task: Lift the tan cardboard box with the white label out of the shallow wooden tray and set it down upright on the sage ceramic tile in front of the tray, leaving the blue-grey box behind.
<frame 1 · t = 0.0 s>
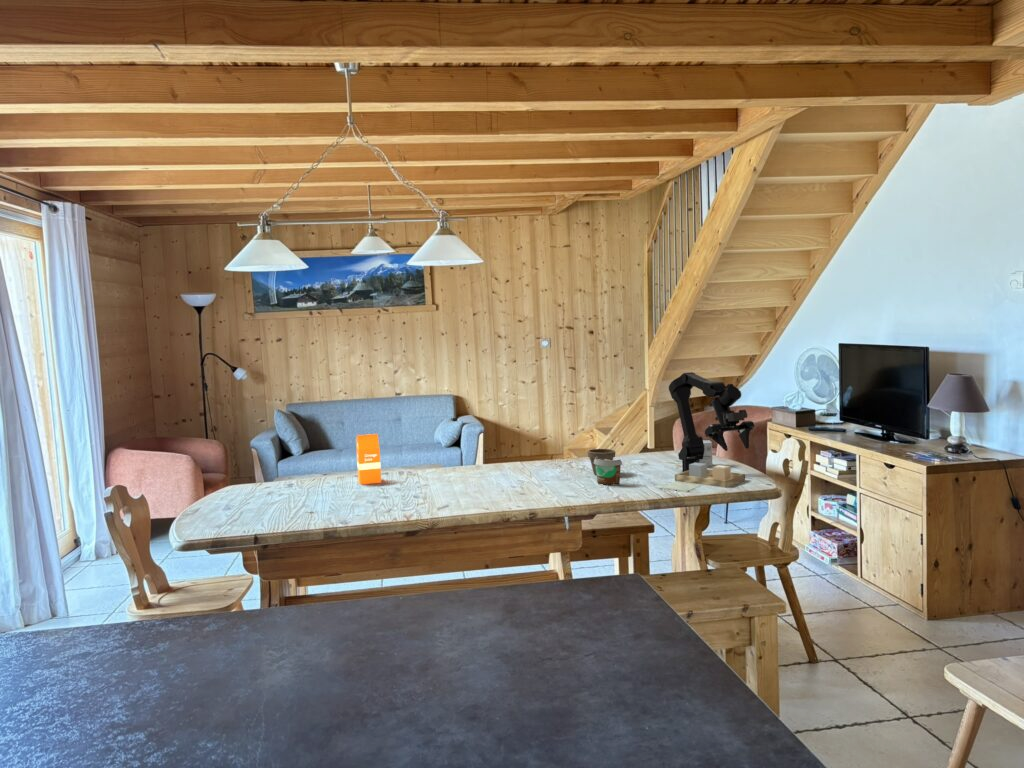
hand: (737, 449, 281), 15 cm above the table, tool tilted 35°, fingers open, 9 cm apart
food container: (605, 484, 299), on the table
orange juice: (369, 482, 320), on the table
sage tile: (681, 487, 288), on the table
tan box: (721, 482, 293), resting on wooden tray
light bulb box: (699, 466, 329), on the table
flower pot: (602, 474, 318), on the table
wooden tray: (709, 481, 296), on the table
blue-grey box: (698, 479, 299), resting on wooden tray
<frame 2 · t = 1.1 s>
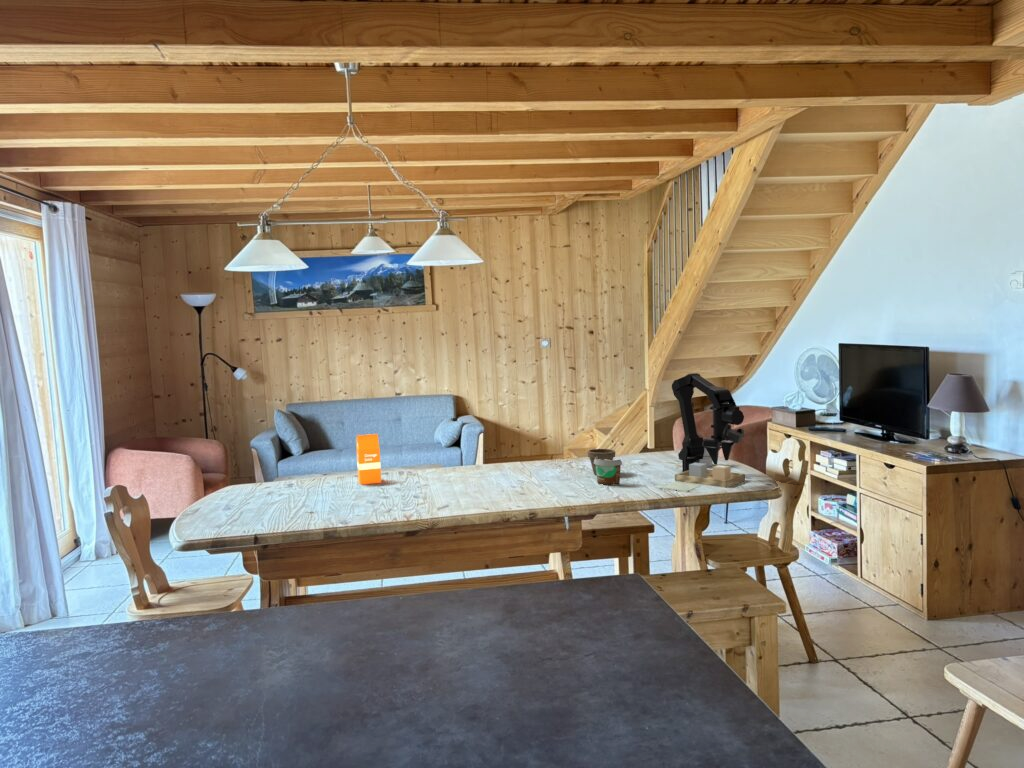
hand: (721, 462, 292), 8 cm above the table, tool pointing down, fingers open, 9 cm apart
nothing on the table moved.
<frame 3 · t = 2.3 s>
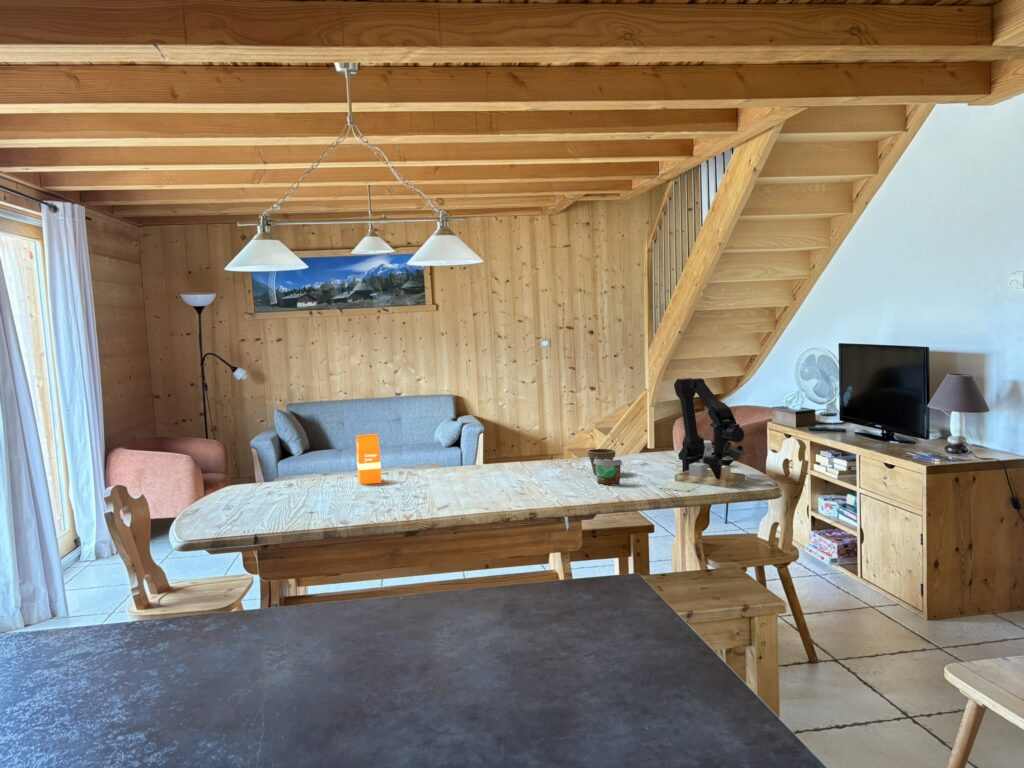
hand: (721, 479, 293), 2 cm above the table, tool pointing down, fingers closed on tan box, 5 cm apart
tan box: (721, 482, 293), resting on wooden tray, touching gripper
everything else where it was.
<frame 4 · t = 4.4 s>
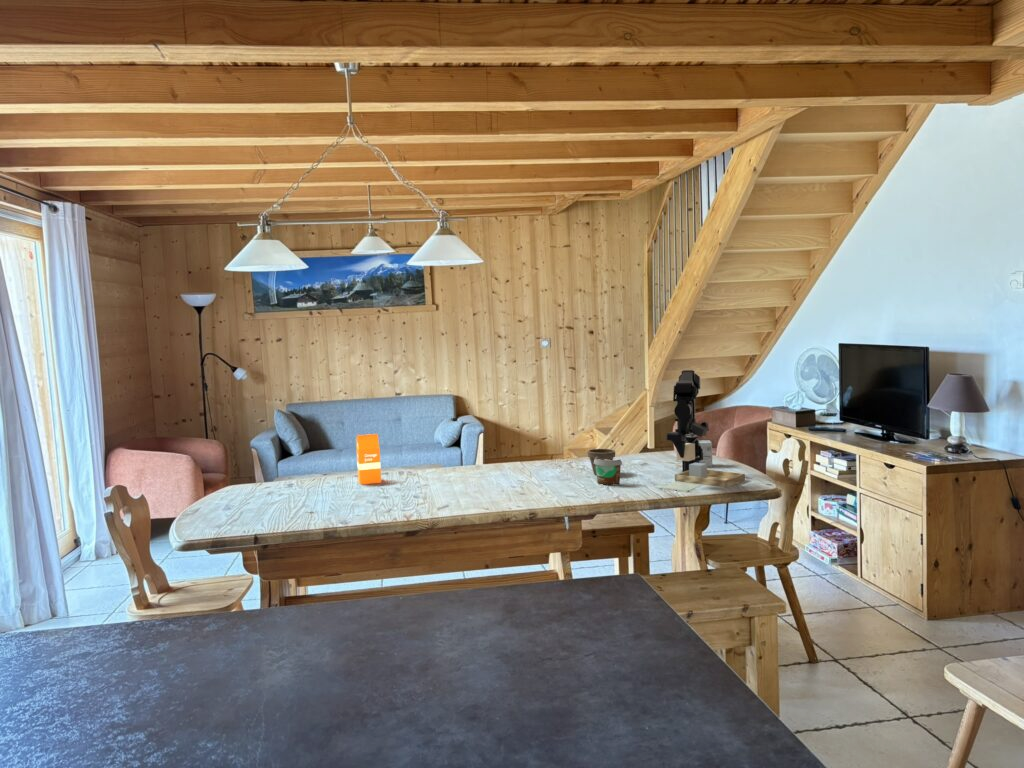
hand: (685, 456, 287), 12 cm above the table, tool pointing down, fingers closed on tan box, 5 cm apart
tan box: (685, 459, 287), point 11 cm above the table, touching gripper
everything else where it was.
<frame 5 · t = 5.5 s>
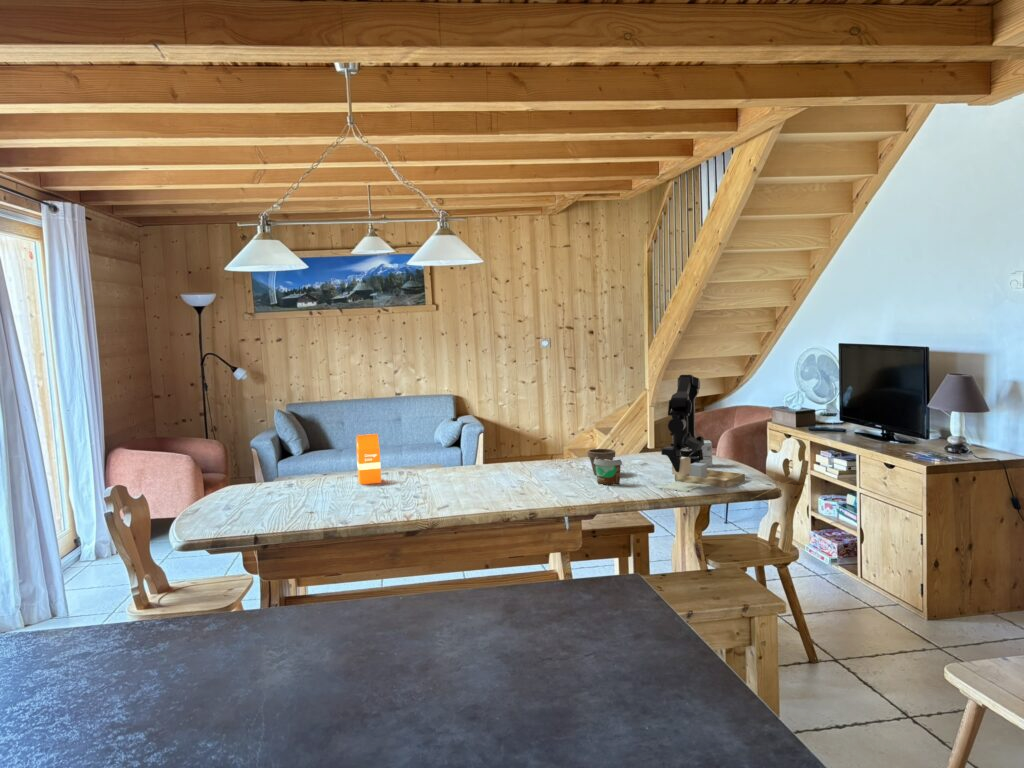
hand: (681, 470, 287), 7 cm above the table, tool pointing down, fingers closed on tan box, 5 cm apart
tan box: (681, 473, 287), point 5 cm above the table, touching gripper
everything else where it was.
when the fingers open (3 cm above the table, at t = 6.5 s): tan box drops 1 cm, resting on sage tile.
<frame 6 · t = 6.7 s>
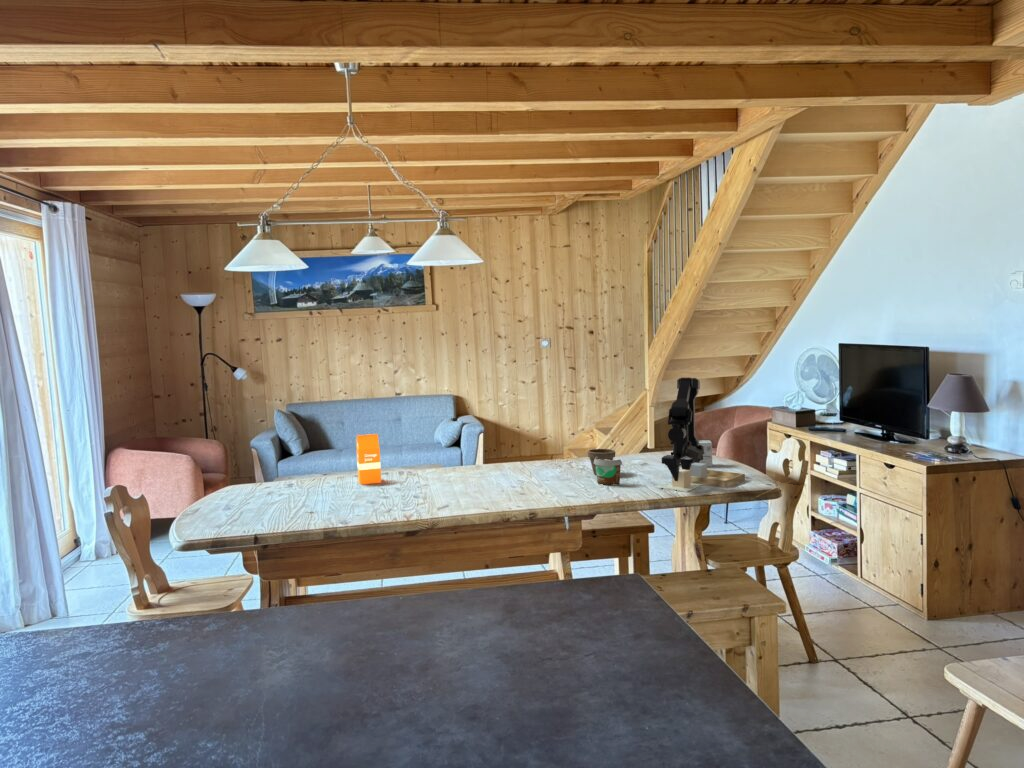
hand: (681, 479, 287), 3 cm above the table, tool pointing down, fingers open, 7 cm apart
tan box: (681, 486, 287), point 1 cm above the table, touching sage tile
everything else where it was.
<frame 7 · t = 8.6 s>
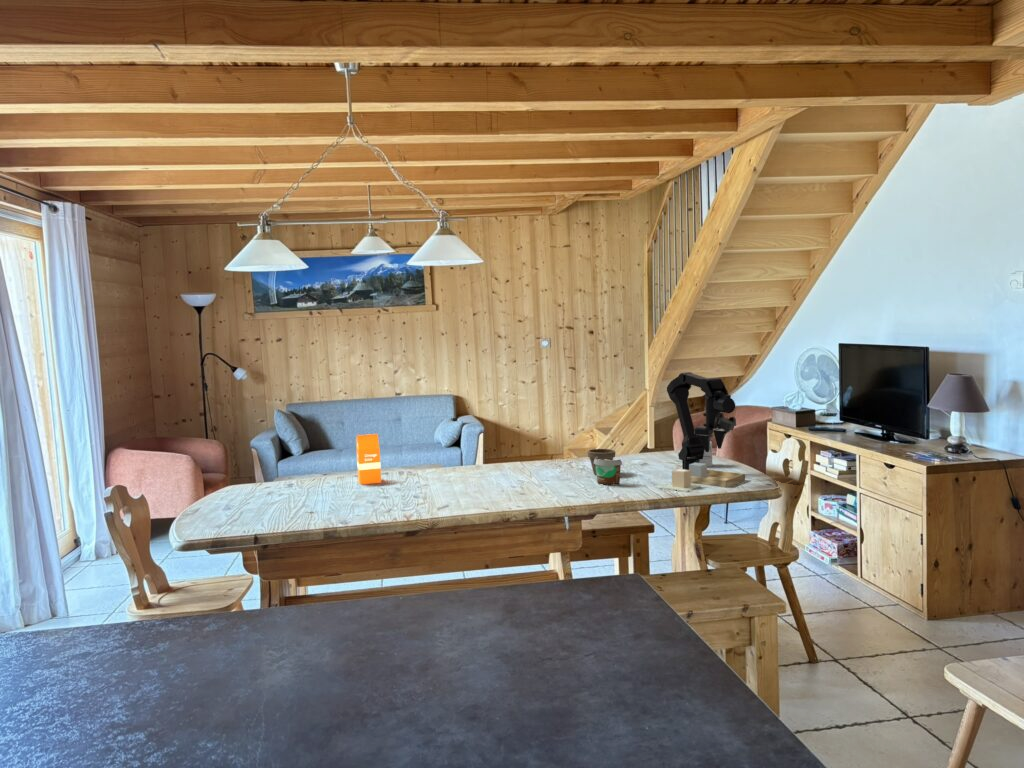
hand: (713, 450, 296), 12 cm above the table, tool pointing down, fingers open, 9 cm apart
nothing on the table moved.
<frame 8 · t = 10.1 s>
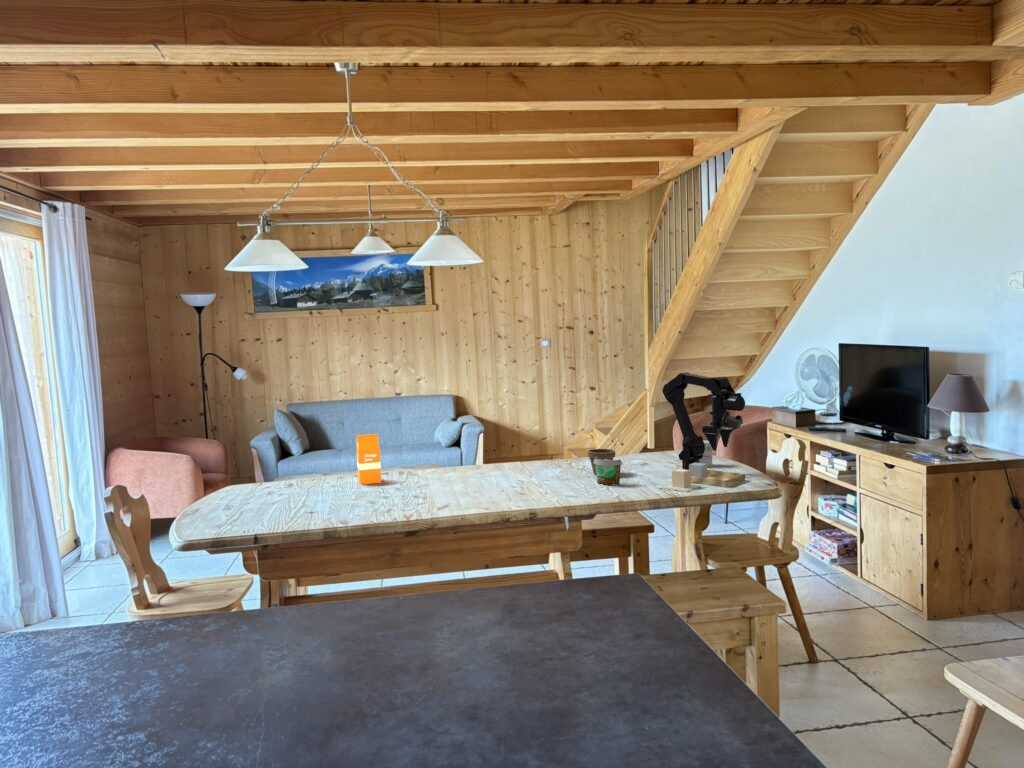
hand: (720, 448, 297), 12 cm above the table, tool pointing down, fingers open, 9 cm apart
nothing on the table moved.
at the end: tan box inside the target area on the sage tile (0.1 cm from its centre), point 0.6 cm above the sage tile's base; tan box tilted 0°; the gripper is holding nothing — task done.
